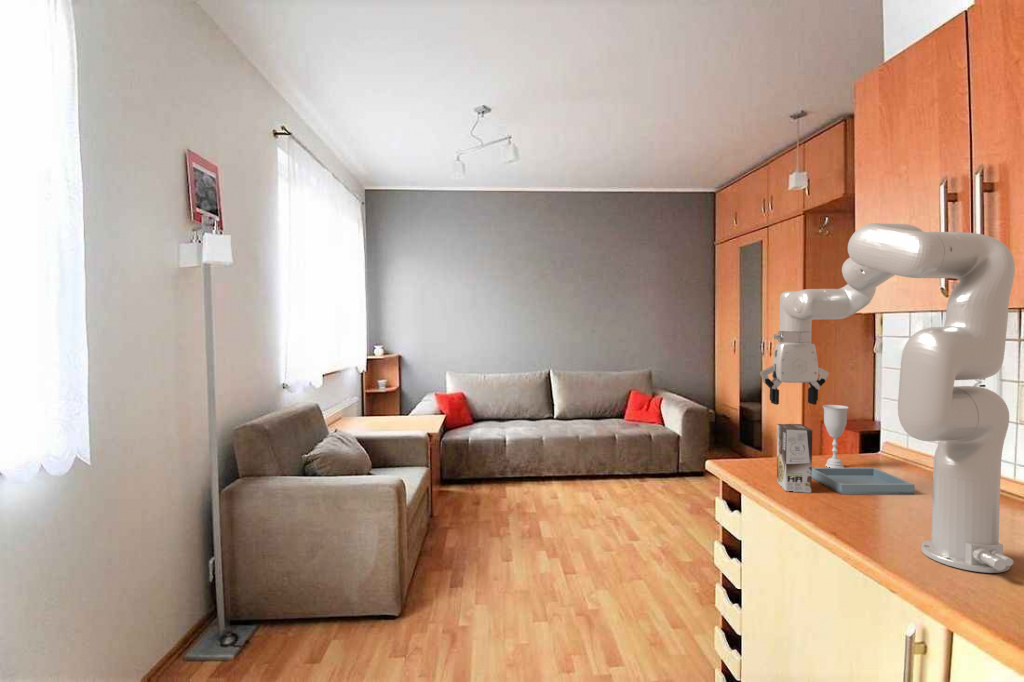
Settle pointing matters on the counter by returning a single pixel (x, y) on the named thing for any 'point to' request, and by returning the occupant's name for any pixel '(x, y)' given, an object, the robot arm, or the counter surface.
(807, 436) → the coffee box
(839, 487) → the tray
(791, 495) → the counter surface
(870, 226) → the robot arm
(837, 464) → the chalice
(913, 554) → the counter surface
